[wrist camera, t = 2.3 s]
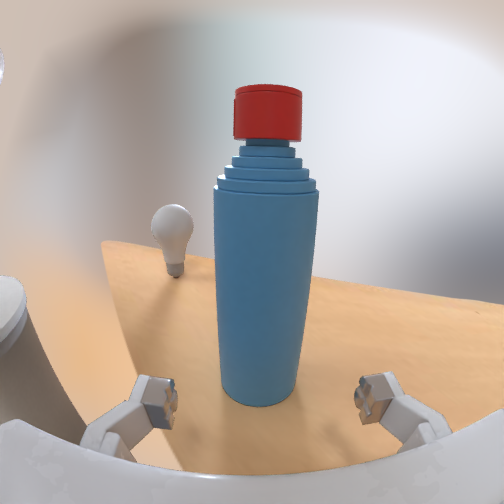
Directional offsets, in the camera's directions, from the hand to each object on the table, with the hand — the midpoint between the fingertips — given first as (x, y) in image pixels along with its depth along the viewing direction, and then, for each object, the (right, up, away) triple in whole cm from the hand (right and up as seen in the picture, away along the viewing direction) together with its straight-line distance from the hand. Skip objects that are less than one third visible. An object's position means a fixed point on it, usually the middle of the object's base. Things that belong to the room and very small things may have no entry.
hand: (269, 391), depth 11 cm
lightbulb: (-12, +2, +30) cm, 33 cm away
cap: (0, +13, +5) cm, 14 cm away
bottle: (0, -5, +12) cm, 13 cm away
